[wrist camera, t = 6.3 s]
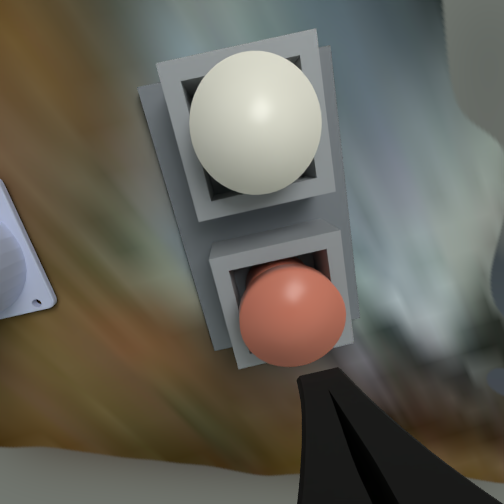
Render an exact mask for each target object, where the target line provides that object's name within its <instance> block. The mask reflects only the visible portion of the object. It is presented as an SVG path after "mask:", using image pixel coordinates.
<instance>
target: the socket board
mask: <svg viewBox="0 0 504 504" xmlns="http://www.w3.org/2000/svg"><path fill="white" fill-rule="evenodd" d="M246 51H265V52H270V53H273V54H276V55H279V56H281V57H283V58H285V59H287V60H289V61H290V62H291V63H293V64H294V65H296V66H297V67H298V68H299V69H300V70H301V71H302V72H303V73H304V75H305V76H306V77H307V78H308V80H309V81H310V83H311V85H312V86H313V88H314V90H315V93H316V95H317V98H318V101H319V104H320V110H321V118H322V128H321V137H320V142H319V145H318V148H317V151H316V153H315V156H314V158H313V160H312V161H311V163H310V165H309V166H308V168H307V169H306V170H305V172H304V173H303V174H302V175H301V176H300V177H299V178H298V179H297V180H295V181H294V182H293V183H292V184H290V185H288V186H287V187H285V188H283V189H281V190H278V191H276V192H272V193H269V194H262V195H250V194H243V193H239V192H236V191H233V190H231V189H229V188H227V187H225V186H223V185H222V184H220V183H219V182H218V181H216V180H215V179H214V178H213V177H212V176H211V175H210V174H209V173H208V172H207V171H206V170H205V168H204V167H203V166H202V164H201V162H200V161H199V159H198V157H197V155H196V153H195V150H194V147H193V144H192V141H191V136H190V126H189V119H190V109H191V104H192V101H193V97H194V94H195V92H196V90H197V88H198V86H199V84H200V83H201V81H202V79H203V78H204V77H205V75H206V74H207V73H208V72H209V71H210V70H211V69H212V68H213V67H214V66H215V65H216V64H218V63H219V62H221V61H222V60H224V59H225V58H227V57H229V56H232V55H234V54H237V53H241V52H246ZM156 66H157V70H158V74H159V77H160V81H161V82H159V83H154V84H150V85H145V86H141V87H137V89H138V92H139V96H140V99H141V103H142V106H143V109H144V113H145V116H146V119H147V123H148V126H149V130H150V133H151V136H152V140H153V143H154V147H155V150H156V153H157V157H158V160H159V164H160V167H161V170H162V174H163V177H164V181H165V184H166V187H167V191H168V194H169V198H170V201H171V204H172V208H173V211H174V214H175V218H176V221H177V225H178V228H179V231H180V235H181V238H182V242H183V245H184V248H185V252H186V255H187V259H188V262H189V265H190V269H191V272H192V276H193V279H194V282H195V286H196V289H197V293H198V296H199V299H200V303H201V306H202V309H203V313H204V316H205V320H206V323H207V326H208V330H209V333H210V337H211V340H212V343H213V347H214V350H215V351H217V350H221V349H225V348H230V347H233V350H234V354H235V358H236V361H237V365H238V369H242V368H246V367H250V366H255V365H259V364H264V363H267V362H264V361H262V360H261V359H259V358H258V357H256V356H255V355H254V354H253V353H252V352H251V351H250V350H249V349H248V347H247V346H246V344H245V343H244V341H243V338H242V335H241V331H240V322H239V306H240V301H241V298H242V296H243V293H244V291H245V290H246V278H247V275H248V272H249V270H250V269H251V267H252V266H253V265H257V264H262V263H266V262H270V261H275V260H279V259H284V258H288V257H293V256H295V257H297V258H298V259H300V260H301V261H302V262H303V263H304V264H305V265H306V266H309V267H312V268H314V269H316V270H318V271H320V272H321V273H322V274H324V275H325V276H326V277H327V278H328V279H329V280H330V281H331V283H332V284H333V285H334V286H335V287H336V288H337V290H338V291H339V292H340V294H341V296H342V298H343V301H344V303H345V308H346V322H345V327H344V330H343V332H342V335H341V337H340V338H339V340H338V342H337V343H336V344H335V346H334V347H338V346H343V345H347V344H352V343H354V339H353V330H352V322H351V320H353V319H358V318H360V312H359V303H358V294H357V285H356V276H355V266H354V257H353V248H352V239H351V230H350V221H349V212H348V202H347V193H346V184H345V175H344V166H343V157H342V148H341V138H340V129H339V120H338V111H337V102H336V93H335V84H334V74H333V65H332V56H331V47H330V45H329V46H324V47H318V39H317V31H316V29H311V30H306V31H302V32H297V33H293V34H288V35H283V36H279V37H274V38H270V39H265V40H260V41H256V42H251V43H247V44H242V45H237V46H233V47H228V48H224V49H219V50H214V51H210V52H205V53H201V54H196V55H191V56H187V57H182V58H178V59H173V60H168V61H164V62H159V63H156ZM334 347H333V348H334Z"/></svg>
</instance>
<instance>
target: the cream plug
mask: <svg viewBox="0 0 504 504" xmlns="http://www.w3.org/2000/svg"><path fill="white" fill-rule="evenodd" d="M189 126H190V136H191V141H192V144H193V147H194V150H195V153H196V155H197V157H198V159H199V161H200V162H201V164H202V166H203V167H204V168H205V170H206V171H207V172H208V173H209V174H210V175H211V176H212V177H213V178H214V179H215V180H216V181H218V182H219V183H220V184H222V185H223V186H225V187H227V188H229V189H231V190H233V191H236V192H239V193H243V194H250V195H262V194H269V193H272V192H276V191H278V190H281V189H283V188H285V187H287V186H288V185H290V184H292V183H293V182H294V181H295V180H297V179H298V178H299V177H300V176H301V175H302V174H303V173H304V172H305V170H306V169H307V168H308V166H309V165H310V163H311V161H312V160H313V158H314V156H315V153H316V151H317V148H318V145H319V142H320V137H321V128H322V118H321V110H320V104H319V101H318V98H317V95H316V93H315V90H314V88H313V86H312V85H311V83H310V81H309V80H308V78H307V77H306V76H305V75H304V73H303V72H302V71H301V70H300V69H299V68H298V67H297V66H296V65H294V64H293V63H291V62H290V61H289V60H287V59H285V58H283V57H281V56H279V55H276V54H273V53H270V52H265V51H246V52H241V53H237V54H234V55H232V56H229V57H227V58H225V59H224V60H222V61H221V62H219V63H218V64H216V65H215V66H214V67H213V68H212V69H211V70H210V71H209V72H208V73H207V74H206V75H205V77H204V78H203V79H202V81H201V83H200V84H199V86H198V88H197V90H196V92H195V94H194V97H193V101H192V104H191V109H190V119H189Z"/></svg>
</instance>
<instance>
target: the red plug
mask: <svg viewBox="0 0 504 504" xmlns="http://www.w3.org/2000/svg"><path fill="white" fill-rule="evenodd" d="M239 322H240V331H241V335H242V338H243V341H244V343H245V344H246V346H247V347H248V349H249V350H250V351H251V352H252V353H253V354H254V355H255V356H256V357H258V358H259V359H261V360H262V361H264V362H267V363H269V364H272V365H275V366H281V367H296V366H302V365H305V364H309V363H311V362H313V361H316V360H317V359H319V358H321V357H322V356H324V355H325V354H326V353H328V352H329V351H330V350H331V349H332V348H333V347H334V346H335V344H336V343H337V342H338V340H339V338H340V337H341V335H342V332H343V330H344V327H345V322H346V308H345V303H344V301H343V298H342V296H341V294H340V292H339V291H338V290H337V288H336V287H335V286H334V285H333V284H332V283H331V281H330V280H329V279H328V278H327V277H326V276H325V275H324V274H322V273H321V272H320V271H318V270H316V269H314V268H312V267H309V266H306V265H305V264H304V263H303V262H302V261H301V260H300V259H298V258H297V257H295V256H293V257H288V258H284V259H279V260H275V261H270V262H266V263H262V264H257V265H253V266H252V267H251V269H250V270H249V272H248V275H247V278H246V290H245V291H244V293H243V296H242V298H241V301H240V306H239Z"/></svg>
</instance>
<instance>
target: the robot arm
mask: <svg viewBox="0 0 504 504" xmlns="http://www.w3.org/2000/svg"><path fill="white" fill-rule="evenodd" d="M36 299H37V300H40V302H41V304H39V303H38V302H37V301H36ZM56 302H57V298H56V295H55V293H54V291H53V289H52V287H51V284H50V282H49V280H48V278H47V276H46V274H45V271H44V269H43V267H42V265H41V263H40V261H39V258H38V256H37V254H36V252H35V250H34V248H33V245H32V243H31V241H30V239H29V237H28V235H27V232H26V230H25V228H24V226H23V224H22V222H21V219H20V217H19V215H18V213H17V211H16V208H15V206H14V204H13V202H12V200H11V198H10V195H9V193H8V191H7V189H6V187H5V185H4V183H3V181H2V180H1V179H0V319H4V318H8V317H13V316H17V315H21V314H26V313H30V312H35V311H39V310H44V309H48V308H51V307H52V306H54V305H55V304H56ZM297 384H298V389H299V394H300V399H301V409H302V451H301V468H300V482H299V492H298V502H297V504H502V503H501V502H499V501H498V500H497V499H495V498H494V497H492V496H491V495H489V494H488V493H486V492H485V491H484V490H482V489H481V488H479V487H478V486H476V485H475V484H474V483H472V482H471V481H470V480H468V479H467V478H465V477H464V476H463V475H461V474H460V473H459V472H457V471H456V470H454V469H453V468H452V467H450V466H449V465H448V464H446V463H445V462H444V461H443V460H441V459H440V458H439V457H437V456H436V455H435V454H434V453H432V452H431V451H430V450H428V449H427V448H426V447H425V446H424V445H422V444H421V443H420V442H419V441H417V440H416V439H415V438H414V437H412V436H411V435H410V434H409V433H408V432H407V431H405V430H404V429H403V428H402V427H401V426H399V425H398V424H397V423H396V422H395V421H394V420H393V419H392V418H390V417H389V416H388V415H387V414H386V413H385V412H384V411H383V410H381V409H380V408H379V407H378V406H377V405H376V404H375V403H374V402H373V401H372V400H371V399H370V398H369V397H368V396H367V395H366V394H365V393H363V392H362V391H361V390H360V389H359V388H358V387H357V386H356V385H355V384H354V383H353V381H352V380H351V379H350V378H349V377H348V376H347V375H346V374H345V373H344V372H343V371H342V370H341V369H340V368H338V367H337V368H333V369H328V370H324V371H320V372H315V373H311V374H307V375H302V376H299V378H298V379H297Z"/></svg>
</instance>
